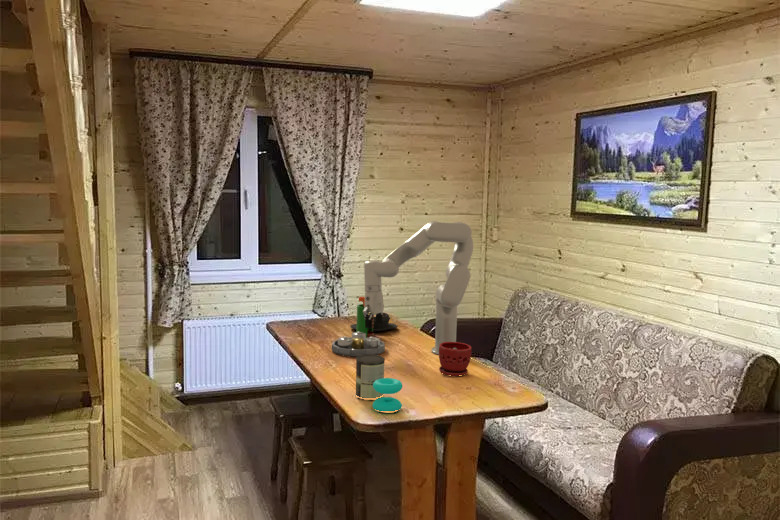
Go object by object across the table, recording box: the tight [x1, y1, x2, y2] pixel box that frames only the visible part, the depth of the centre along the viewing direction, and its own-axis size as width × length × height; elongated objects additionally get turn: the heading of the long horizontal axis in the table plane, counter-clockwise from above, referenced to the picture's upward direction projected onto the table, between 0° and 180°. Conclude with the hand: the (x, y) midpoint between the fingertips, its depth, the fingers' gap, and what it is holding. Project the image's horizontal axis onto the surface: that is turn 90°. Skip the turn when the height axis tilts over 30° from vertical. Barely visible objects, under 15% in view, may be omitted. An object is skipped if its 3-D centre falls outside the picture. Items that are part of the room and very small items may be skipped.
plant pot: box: [438, 341, 472, 377], centre depth 269 cm, size 13×13×12 cm
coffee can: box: [355, 355, 386, 398], centre depth 238 cm, size 10×10×14 cm
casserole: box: [349, 311, 398, 333], centre depth 346 cm, size 25×19×8 cm
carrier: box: [331, 331, 386, 358], centre depth 303 cm, size 24×24×7 cm
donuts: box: [372, 377, 403, 411], centre depth 225 cm, size 10×10×10 cm
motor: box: [355, 296, 375, 338], centre depth 329 cm, size 10×9×20 cm
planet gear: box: [363, 336, 381, 350], centre depth 300 cm, size 8×8×5 cm
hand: (374, 325), depth 299 cm, fingers open, 9 cm apart
